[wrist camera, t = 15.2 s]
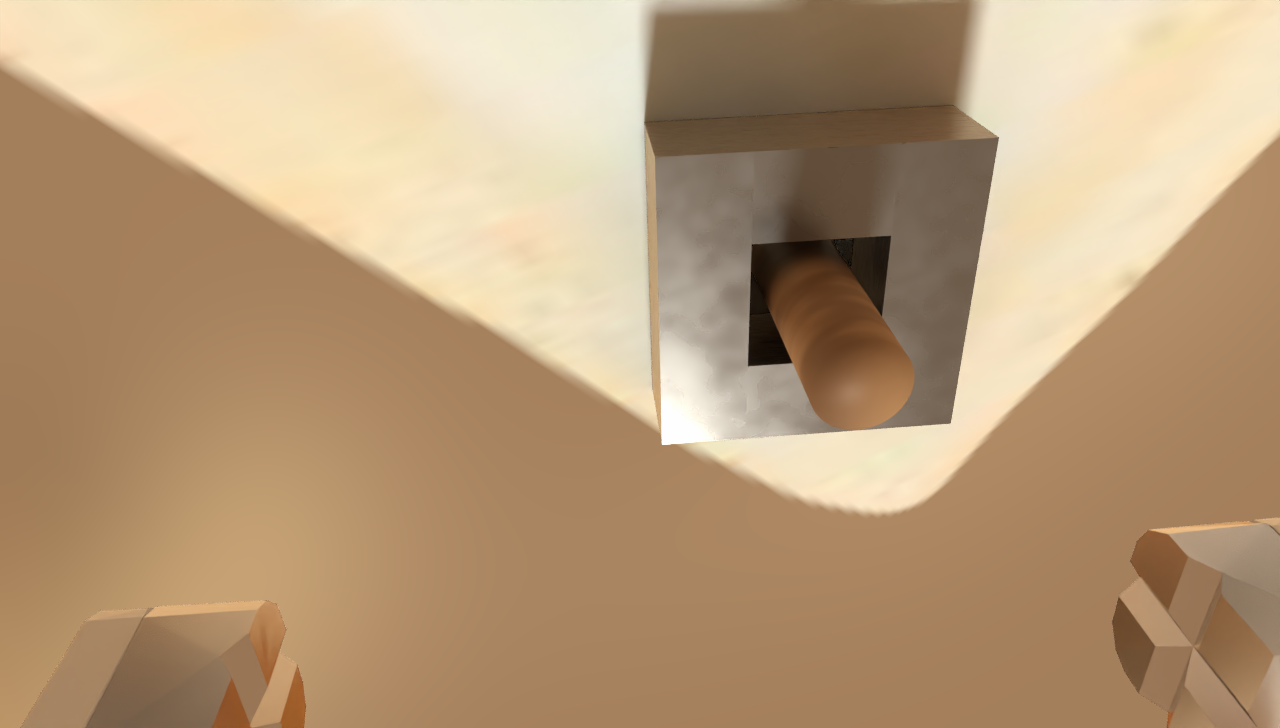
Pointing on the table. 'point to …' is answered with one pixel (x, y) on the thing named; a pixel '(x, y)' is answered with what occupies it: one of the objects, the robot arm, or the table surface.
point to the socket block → (805, 211)
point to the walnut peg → (833, 334)
